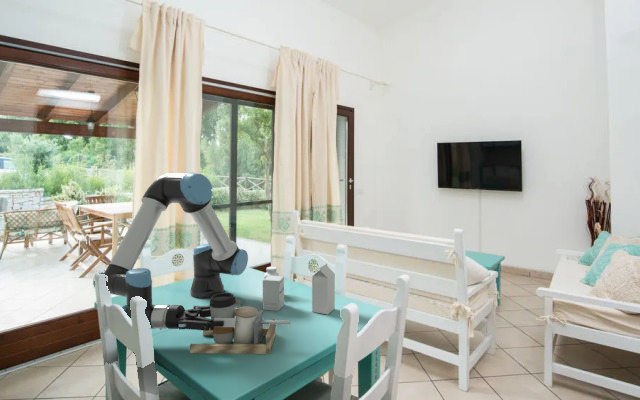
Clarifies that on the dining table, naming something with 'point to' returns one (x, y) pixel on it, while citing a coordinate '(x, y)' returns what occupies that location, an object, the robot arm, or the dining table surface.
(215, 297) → the coffee cup
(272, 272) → the supplement bottle
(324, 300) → the milk carton
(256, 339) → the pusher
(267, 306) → the supplement box
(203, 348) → the lane
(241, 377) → the dining table surface
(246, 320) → the cream jar
